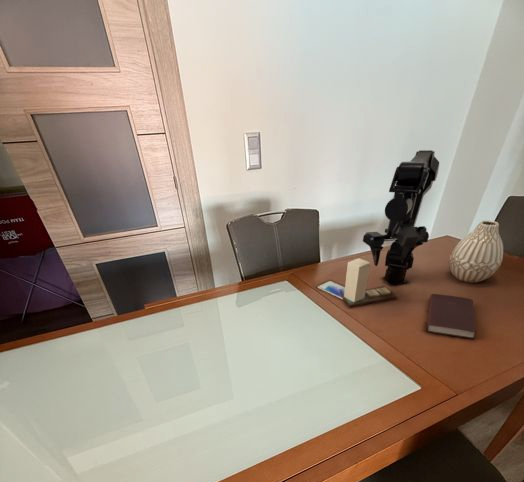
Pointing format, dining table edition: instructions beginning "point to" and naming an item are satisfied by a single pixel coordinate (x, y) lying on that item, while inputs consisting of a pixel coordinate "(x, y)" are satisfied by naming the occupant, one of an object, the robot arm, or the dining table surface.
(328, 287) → the smartphone
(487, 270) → the vase
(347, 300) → the word board
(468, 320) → the book
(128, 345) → the dining table surface
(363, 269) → the letter I
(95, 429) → the dining table surface
